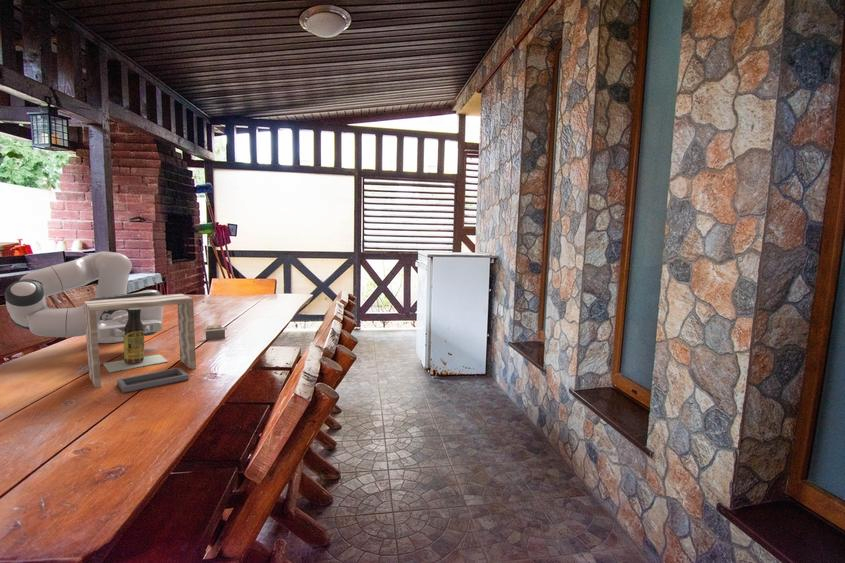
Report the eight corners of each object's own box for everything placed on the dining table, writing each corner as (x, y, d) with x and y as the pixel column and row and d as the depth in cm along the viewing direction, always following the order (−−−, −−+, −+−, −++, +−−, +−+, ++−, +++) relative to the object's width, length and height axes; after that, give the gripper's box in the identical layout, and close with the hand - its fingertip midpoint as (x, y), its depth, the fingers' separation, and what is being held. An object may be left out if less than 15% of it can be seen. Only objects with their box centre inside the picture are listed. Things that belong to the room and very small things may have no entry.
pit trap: (117, 384, 137) (116, 379, 137) (179, 372, 149) (179, 367, 149) (123, 393, 130) (122, 387, 130) (188, 380, 142) (188, 374, 142)
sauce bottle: (127, 365, 154) (125, 310, 152) (121, 362, 158) (118, 308, 156) (148, 361, 159) (146, 308, 157) (141, 358, 163) (139, 306, 161)
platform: (192, 338, 197) (192, 324, 197) (235, 334, 206) (234, 321, 206) (193, 344, 187) (192, 329, 186) (238, 340, 196) (237, 326, 195)
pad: (103, 364, 157) (103, 363, 157) (159, 355, 169) (159, 354, 169) (109, 372, 148) (108, 371, 148) (167, 362, 161) (167, 361, 161)
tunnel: (89, 376, 144) (83, 301, 141) (184, 359, 164) (181, 293, 161) (95, 387, 134) (89, 307, 131) (196, 368, 154) (193, 298, 151)
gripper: (158, 329, 174) (167, 336, 164) (95, 337, 160) (101, 345, 150) (157, 314, 173) (166, 320, 163) (94, 321, 159) (100, 327, 149)
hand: (134, 332), depth 157 cm, fingers closed on sauce bottle, 6 cm apart
